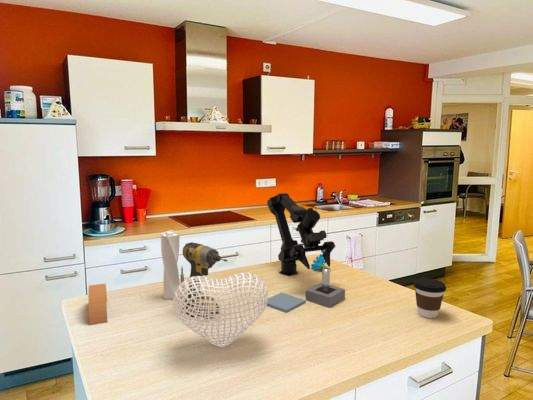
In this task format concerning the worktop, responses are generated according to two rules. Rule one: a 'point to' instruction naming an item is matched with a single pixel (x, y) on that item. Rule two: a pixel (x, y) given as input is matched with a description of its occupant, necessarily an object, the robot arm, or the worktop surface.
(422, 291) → the coffee cup
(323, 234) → the robot arm
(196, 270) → the cordless drill
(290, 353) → the worktop surface
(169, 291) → the skyscraper
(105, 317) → the orange rectangular block
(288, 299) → the mat
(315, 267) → the blue flower bunch
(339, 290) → the socket block
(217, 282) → the heart
